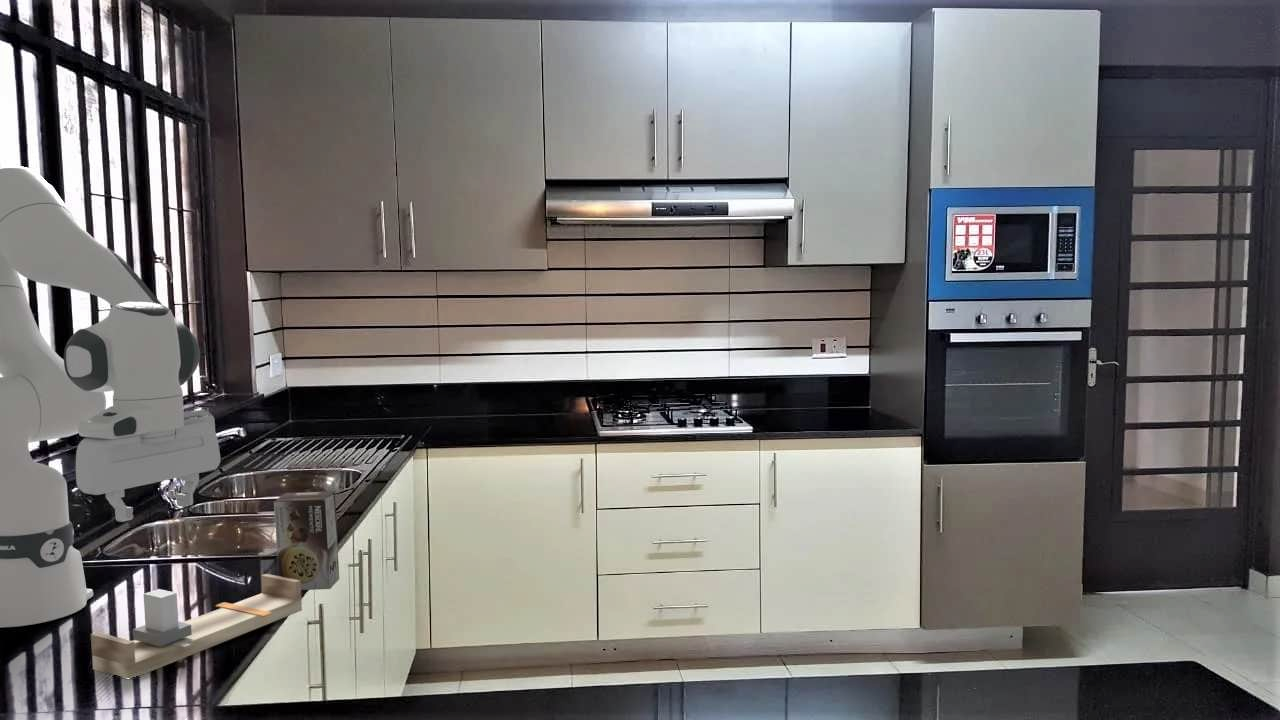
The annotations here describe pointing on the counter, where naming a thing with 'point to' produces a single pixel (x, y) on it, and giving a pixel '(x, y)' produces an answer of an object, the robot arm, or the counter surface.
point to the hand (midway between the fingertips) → (155, 512)
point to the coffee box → (307, 538)
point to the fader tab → (161, 620)
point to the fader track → (199, 630)
